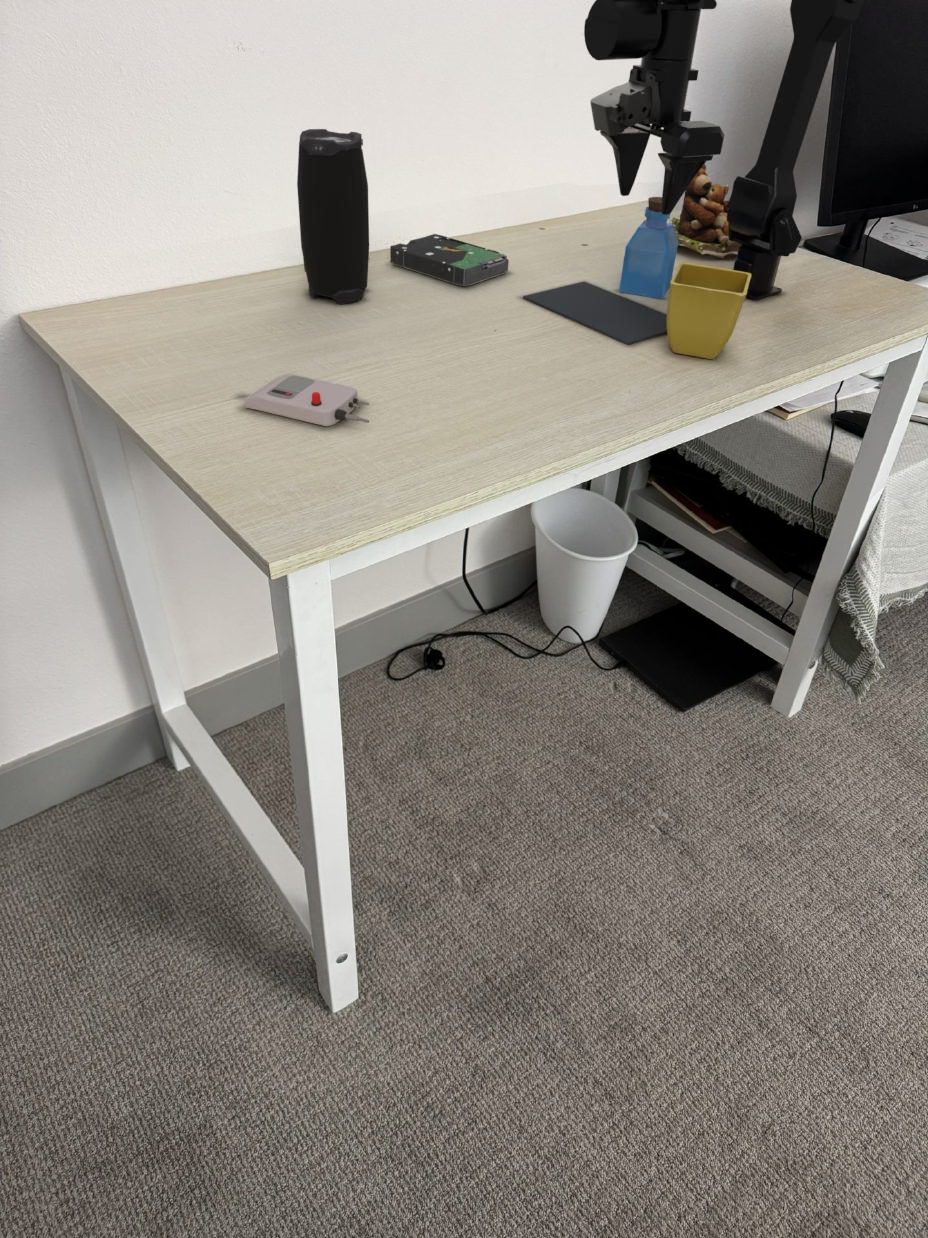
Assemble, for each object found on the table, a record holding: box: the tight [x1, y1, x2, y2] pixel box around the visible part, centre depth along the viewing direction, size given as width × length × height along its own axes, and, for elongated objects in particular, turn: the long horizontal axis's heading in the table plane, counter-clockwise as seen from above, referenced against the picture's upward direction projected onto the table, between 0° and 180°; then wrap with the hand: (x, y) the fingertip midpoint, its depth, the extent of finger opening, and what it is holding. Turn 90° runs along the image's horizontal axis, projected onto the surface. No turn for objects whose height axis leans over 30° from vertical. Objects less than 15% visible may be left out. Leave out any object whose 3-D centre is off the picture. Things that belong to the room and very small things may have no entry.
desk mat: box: [522, 281, 667, 346], centre depth 119 cm, size 12×20×1 cm, turn 39°
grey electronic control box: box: [244, 373, 370, 427], centre depth 92 cm, size 7×16×3 cm, turn 67°
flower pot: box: [666, 262, 751, 360], centre depth 107 cm, size 9×9×9 cm
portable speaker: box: [296, 128, 370, 305], centre depth 114 cm, size 9×9×20 cm
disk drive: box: [389, 233, 510, 287], centre depth 130 cm, size 10×3×15 cm
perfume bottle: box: [618, 196, 679, 300], centre depth 123 cm, size 6×6×12 cm
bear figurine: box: [667, 163, 741, 260], centre depth 141 cm, size 14×15×12 cm
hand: (644, 204), depth 109 cm, fingers open, 9 cm apart
